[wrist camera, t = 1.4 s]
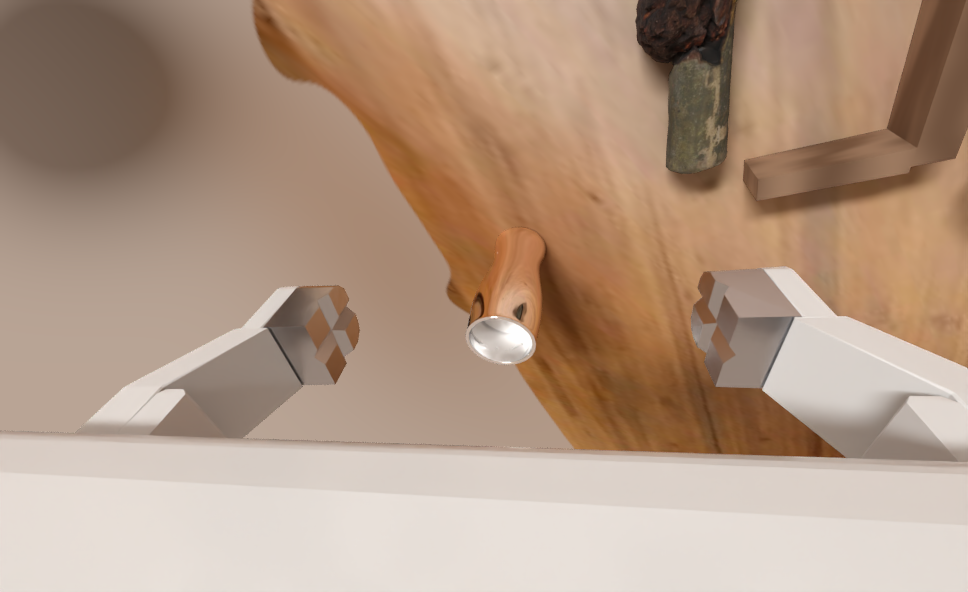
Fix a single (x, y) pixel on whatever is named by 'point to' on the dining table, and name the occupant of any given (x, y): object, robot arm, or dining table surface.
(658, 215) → the dining table surface
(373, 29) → the dining table surface
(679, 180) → the dining table surface
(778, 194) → the walnut cradle
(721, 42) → the metal pipe
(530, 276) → the beer glass
